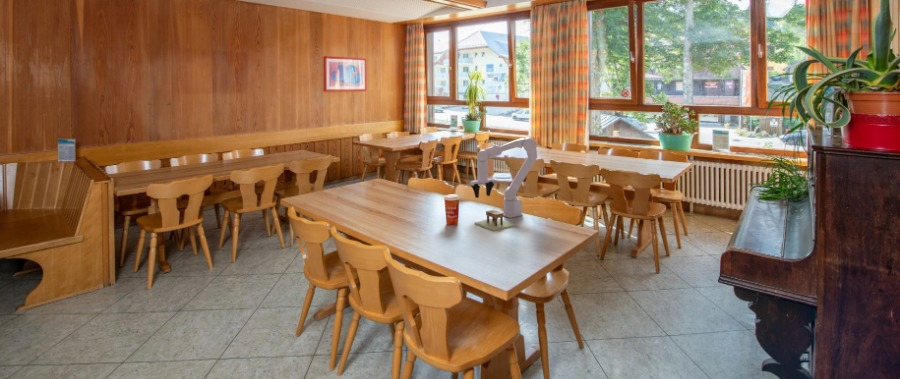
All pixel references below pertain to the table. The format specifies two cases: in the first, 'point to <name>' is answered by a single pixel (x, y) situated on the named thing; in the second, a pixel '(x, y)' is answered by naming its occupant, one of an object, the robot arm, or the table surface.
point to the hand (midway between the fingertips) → (482, 196)
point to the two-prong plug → (495, 216)
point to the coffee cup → (452, 209)
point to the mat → (492, 225)
